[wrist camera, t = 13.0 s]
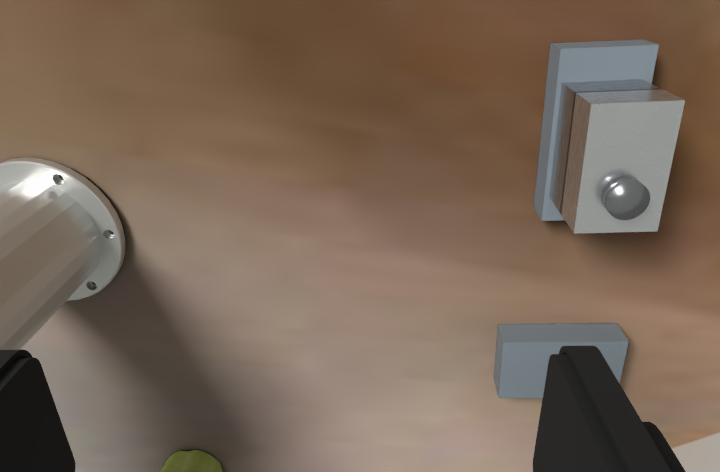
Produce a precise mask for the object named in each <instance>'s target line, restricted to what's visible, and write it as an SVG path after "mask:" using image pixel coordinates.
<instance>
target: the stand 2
mask: <svg viewBox="0 0 720 472" xmlns="http://www.w3.org/2000/svg"><path fill="white" fill-rule="evenodd" d="M628 343H629V341H628V340H627V338H626V336H625V335H624V333H623V332H622V330H621V328H620V327H619V325H618V324H617V323H595V324H498V332H497V344H496V357H495V370H494V381H495V385H496V389H497V393H498V398H543V394H544V388H545V381H546V375H547V368H548V362H549V358H550V356H551V355H552V354H559V351H560V349H561V347H562V346H596V347H597V348H598V349H599V350H600V352H601V353H602V355H603V357H604V358H605V360H606V362H607V363H608V365H609V367H610V369H611V370H612V372H613V374H614V375H615V377H616V379H617V380H618V382H619V384H620V380H621V376H622V371H623V366H624V361H625V357H626V352H627V347H628Z"/></svg>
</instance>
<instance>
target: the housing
mask: <svg viewBox="0 0 720 472" xmlns="http://www.w3.org/2000/svg"><path fill="white" fill-rule="evenodd" d="M684 103H685V100H684V99H682V98H680V97H677V96H675V95H673V94H671V93H669V92H667V91H665V90H663V89H661V88H659V87H657V86H655V85H653V84H651V83H648V82H646V81H644V80H642V79H630V80H607V81H585V82H562V84H561V93H560V102H559V111H558V121H557V130H556V139H555V148H554V157H553V166H552V176H551V185H550V194H549V197H550V199H551V200H552V202H553V203H554V205H555V206H556V208H557V209H558V211H559V212H560V214H561V215H562V217H563V218H564V220H565V221H566V223H567V224H568V226H569V227H570V229H571V230H572V232H573V233H574V234H575V233H615V232H654V231H658V227H659V222H660V217H661V212H662V208H663V203H664V198H665V194H666V189H667V184H668V179H669V175H670V170H671V165H672V160H673V156H674V151H675V146H676V141H677V137H678V132H679V127H680V122H681V118H682V113H683V108H684Z"/></svg>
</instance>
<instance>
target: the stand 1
mask: <svg viewBox="0 0 720 472" xmlns="http://www.w3.org/2000/svg"><path fill="white" fill-rule="evenodd" d="M658 47H659V45H658V44H655V43H652V42H649V41H646V40H619V41H596V42H572V43H550V53H549V63H548V72H547V82H546V92H545V102H544V111H543V121H542V131H541V141H540V150H539V160H538V170H537V180H536V189H535V199H534V208H535V210H536V212H537V214H538V215H539V217H540V219H541V221H558V220H564V218H563V217H562V215H561V214H560V212H559V211H558V209H557V208H556V206H555V205H554V203H553V202H552V200H551V199H550V197H549V194H550V185H551V176H552V166H553V157H554V148H555V139H556V130H557V121H558V111H559V102H560V93H561V84H562V82H585V81H607V80H630V79H642V80H644V81H646V82H648V83H651V84H652V79H653V74H654V68H655V63H656V58H657V52H658Z"/></svg>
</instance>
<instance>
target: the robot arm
mask: <svg viewBox="0 0 720 472" xmlns="http://www.w3.org/2000/svg"><path fill="white" fill-rule="evenodd" d="M124 256H125V236H124V231H123V226H122V224H121V222H120V219H119V217H118V214H117V212H116V211H115V209H114V208H113V206H112V205H111V203H110V201H109V200H108V199H107V198H106V197H105V195H104V194H103V193H102V192H101V191H100V190H99V189H98V188H97V187H96V186H95V185H94V184H92V183H91V182H90V181H89V180H88V179H86V178H85V177H84V176H82V175H80V174H79V173H77V172H75V171H74V170H72V169H70V168H68V167H65V166H63V165H61V164H58V163H56V162H52V161H48V160H44V159H39V158H17V159H10V160H7V161H4V162H1V163H0V472H75V460H74V457H73V454H72V451H71V449H70V446H69V443H68V440H67V437H66V434H65V432H64V429H63V426H62V423H61V420H60V417H59V415H58V412H57V409H56V406H55V403H54V400H53V398H52V395H51V392H50V389H49V386H48V383H47V381H46V378H45V375H44V372H43V369H42V366H41V364H40V362H39V360H38V359H36V358H33V357H32V356H31V354H30V353H29V352H28V351H26V350H20V349H21V348H22V347H23V346H24V345H25V344H26V343H27V342H28V341H29V340H30V339H31V338H32V337H33V335H34V334H35V333H36V332H37V331H38V330H39V329H40V328H41V327H42V326H43V325H44V324H45V323H46V322H47V321H48V320H49V319H50V318H51V316H52V315H53V314H54V313H55V312H56V311H57V310H58V309H59V308H60V307H61V306H62V305H63V304H64V303H65V302H66V301H71V300H80V299H83V298H86V297H90V296H92V295H94V294H96V293H98V292H100V291H101V290H102V289H104V288H105V287H106V286H107V285H108V284H109V283H110V282H111V281H112V280H113V278H114V277H115V276H116V275H117V274H118V272H119V270H120V268H121V266H122V264H123V260H124ZM533 472H685V470H684V469H683V467H682V465H681V464H680V462H679V460H678V459H677V457H676V456H675V454H674V453H673V451H672V449H671V448H670V446H669V444H668V443H667V441H666V439H665V438H664V436H663V435H662V433H661V432H660V431H659V429H658V428H657V427H656V426H655V425H654V424H652V423H651V422H642V421H641V419H640V418H639V416H638V414H637V413H636V411H635V409H634V407H633V406H632V404H631V402H630V401H629V399H628V397H627V396H626V394H625V392H624V391H623V389H622V387H621V385H620V384H619V382H618V380H617V379H616V377H615V375H614V374H613V372H612V370H611V369H610V367H609V365H608V363H607V362H606V360H605V358H604V357H603V355H602V353H601V352H600V350H599V349H598V348H597V347H596V346H562V347H561V349H560V351H559V354H552V355H551V356H550V358H549V362H548V368H547V375H546V381H545V388H544V394H543V400H542V407H541V413H540V420H539V426H538V432H537V439H536V445H535V452H534V458H533Z"/></svg>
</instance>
